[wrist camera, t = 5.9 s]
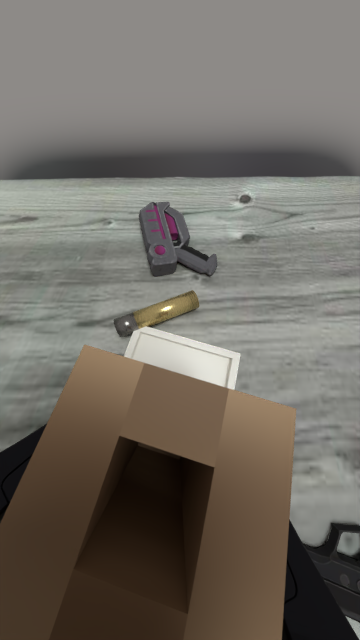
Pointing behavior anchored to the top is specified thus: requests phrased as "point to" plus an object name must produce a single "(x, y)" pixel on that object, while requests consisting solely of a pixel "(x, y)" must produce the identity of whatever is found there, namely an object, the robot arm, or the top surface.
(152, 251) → the toy gun
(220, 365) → the tray
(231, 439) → the brown tall hollow block
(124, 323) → the bullet cartridge
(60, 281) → the top surface
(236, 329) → the top surface
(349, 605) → the handgun
